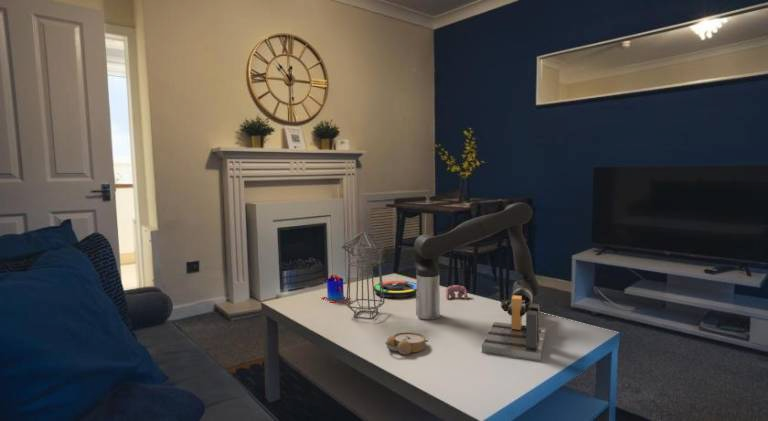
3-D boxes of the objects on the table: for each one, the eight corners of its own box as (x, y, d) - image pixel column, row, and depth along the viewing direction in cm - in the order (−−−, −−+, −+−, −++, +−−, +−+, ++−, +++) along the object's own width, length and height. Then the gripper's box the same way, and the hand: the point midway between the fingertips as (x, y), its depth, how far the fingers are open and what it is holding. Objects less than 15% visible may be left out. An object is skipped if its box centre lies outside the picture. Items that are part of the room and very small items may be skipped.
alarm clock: (433, 338, 146) (403, 343, 136) (431, 352, 146) (401, 359, 135) (408, 330, 154) (378, 334, 143) (407, 343, 154) (377, 349, 143)
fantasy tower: (318, 298, 204) (317, 274, 203) (340, 294, 212) (339, 270, 210) (331, 304, 195) (330, 278, 194) (353, 299, 202) (352, 274, 201)
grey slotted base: (545, 334, 153) (546, 297, 152) (540, 361, 133) (540, 317, 131) (494, 328, 161) (494, 292, 160) (481, 352, 140) (481, 311, 139)
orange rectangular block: (521, 326, 155) (521, 296, 154) (520, 329, 151) (520, 299, 150) (513, 324, 156) (513, 295, 155) (511, 328, 152) (511, 298, 151)
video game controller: (467, 300, 201) (466, 285, 203) (468, 299, 197) (467, 283, 199) (445, 300, 202) (445, 285, 204) (446, 299, 197) (445, 283, 200)
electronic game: (405, 302, 196) (405, 292, 196) (364, 295, 209) (364, 286, 209) (428, 290, 216) (428, 280, 215) (389, 284, 228) (389, 275, 228)
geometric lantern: (341, 318, 176) (338, 233, 174) (357, 308, 190) (355, 229, 188) (376, 322, 170) (373, 234, 168) (391, 311, 184) (388, 229, 182)
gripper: (502, 288, 168) (495, 300, 153) (540, 291, 163) (537, 304, 147) (502, 306, 169) (495, 321, 153) (540, 310, 163) (536, 326, 148)
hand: (515, 313), depth 150 cm, fingers closed on orange rectangular block, 3 cm apart
